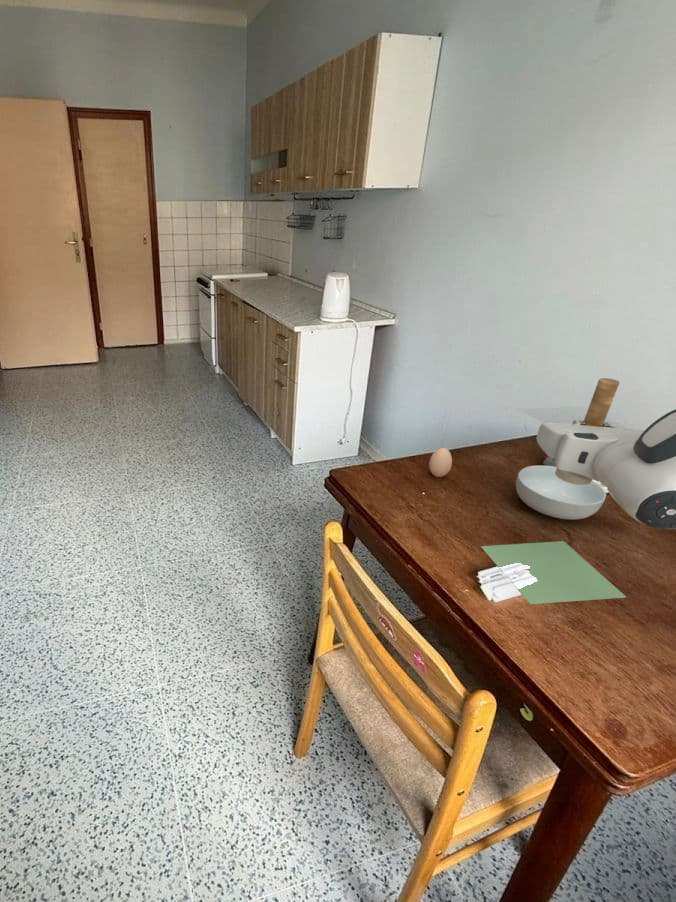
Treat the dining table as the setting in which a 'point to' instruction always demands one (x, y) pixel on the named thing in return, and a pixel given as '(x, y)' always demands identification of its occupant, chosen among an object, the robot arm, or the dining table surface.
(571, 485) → the cereal bowl
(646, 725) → the dining table surface
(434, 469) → the egg
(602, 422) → the dish brush
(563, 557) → the mat
